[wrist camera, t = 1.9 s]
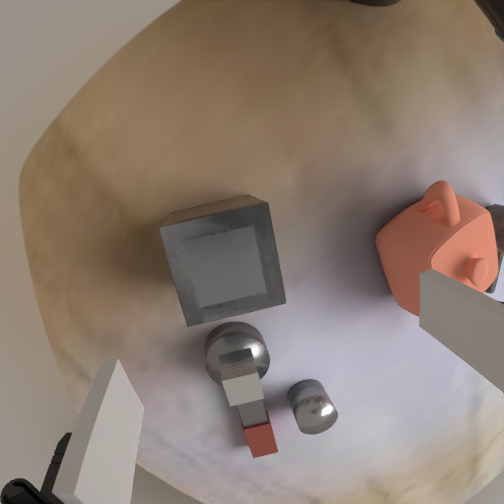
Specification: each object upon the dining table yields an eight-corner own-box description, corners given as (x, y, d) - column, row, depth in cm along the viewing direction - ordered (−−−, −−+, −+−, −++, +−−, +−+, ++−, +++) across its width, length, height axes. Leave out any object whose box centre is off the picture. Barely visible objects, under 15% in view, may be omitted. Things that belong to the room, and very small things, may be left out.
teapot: (428, 157, 29) (499, 159, 19) (461, 287, 34) (516, 317, 24) (349, 201, 29) (415, 217, 19) (397, 336, 34) (448, 382, 24)
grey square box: (171, 212, 27) (159, 228, 19) (249, 194, 27) (268, 202, 20) (190, 286, 28) (187, 326, 21) (264, 269, 29) (286, 302, 21)
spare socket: (285, 385, 33) (296, 414, 28) (321, 374, 33) (337, 401, 29) (289, 410, 34) (300, 438, 29) (323, 400, 35) (338, 426, 30)
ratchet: (198, 329, 30) (198, 370, 23) (258, 315, 30) (273, 353, 23) (240, 447, 35) (247, 488, 28) (284, 436, 35) (298, 476, 29)
